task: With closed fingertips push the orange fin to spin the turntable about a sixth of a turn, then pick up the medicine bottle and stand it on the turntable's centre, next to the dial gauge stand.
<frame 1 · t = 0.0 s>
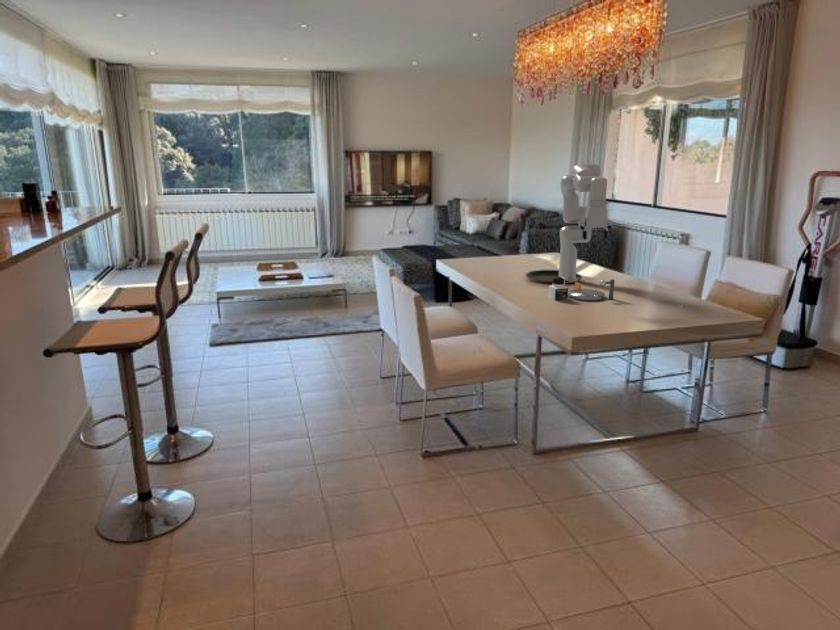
hand: (594, 239, 282), 31 cm above the table, tool pointing down, fingers open, 9 cm apart
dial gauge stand: (610, 301, 289), on the table
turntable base: (585, 298, 293), on the table
turntable: (586, 291, 292), point 4 cm above the table, hinge at 0.0°
medicine bottle: (557, 300, 291), on the table
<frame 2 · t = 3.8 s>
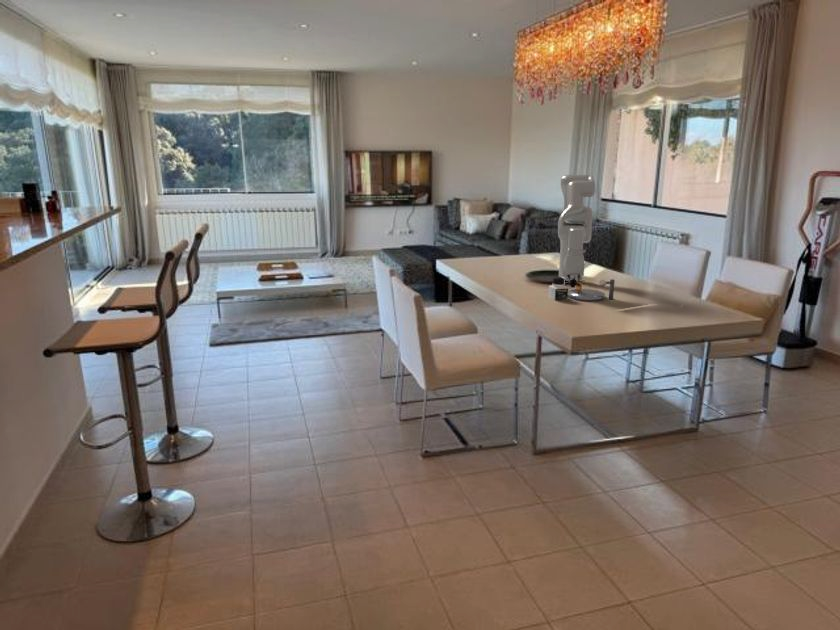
hand: (572, 286, 299), 5 cm above the table, tool pointing down, fingers closed
turntable: (586, 291, 292), point 4 cm above the table, hinge at -5.0°, touching gripper
everything else where it was.
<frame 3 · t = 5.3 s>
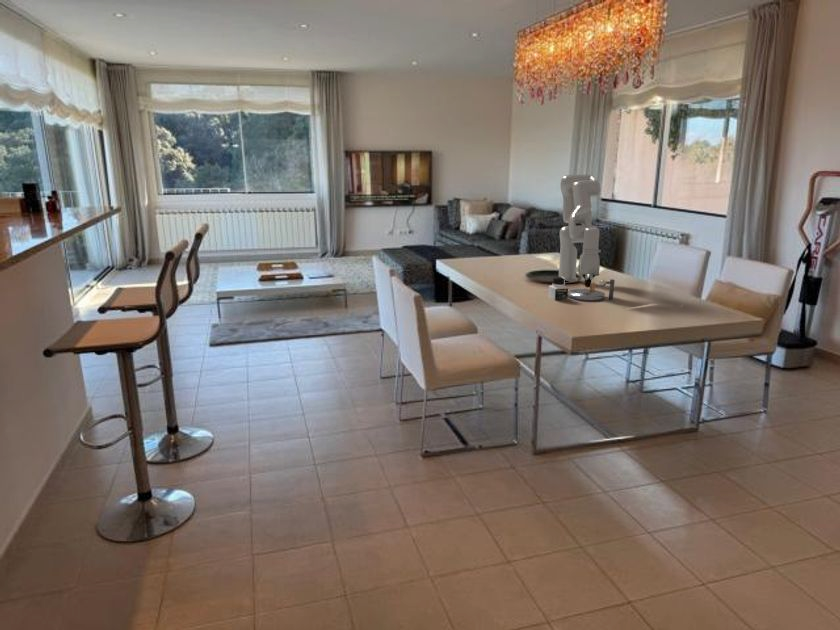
hand: (587, 286, 298), 5 cm above the table, tool pointing down, fingers closed
turntable: (586, 291, 292), point 4 cm above the table, hinge at -66.6°, touching gripper
everything else where it was.
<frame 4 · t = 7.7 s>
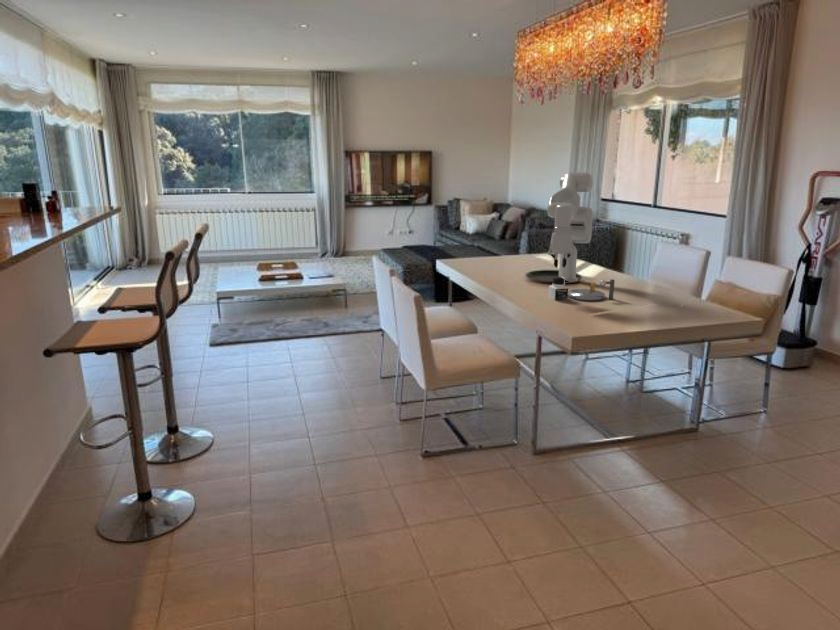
hand: (559, 266, 286), 17 cm above the table, tool pointing down, fingers open, 3 cm apart
turntable: (586, 291, 292), point 4 cm above the table, hinge at -67.8°
everything else where it was.
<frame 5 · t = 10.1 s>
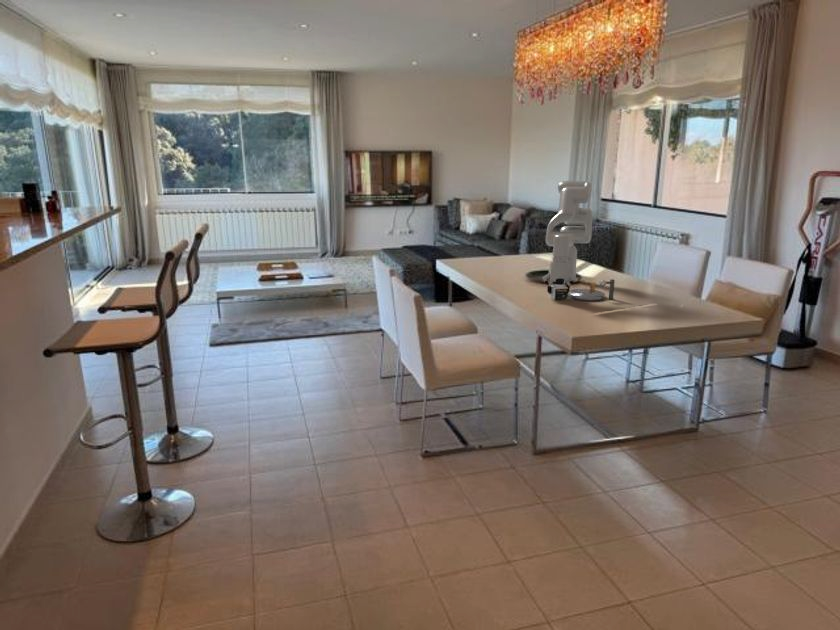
hand: (558, 293, 290), 4 cm above the table, tool pointing down, fingers closed on medicine bottle, 8 cm apart
medicine bottle: (557, 300, 291), on the table, touching gripper
everything else where it was.
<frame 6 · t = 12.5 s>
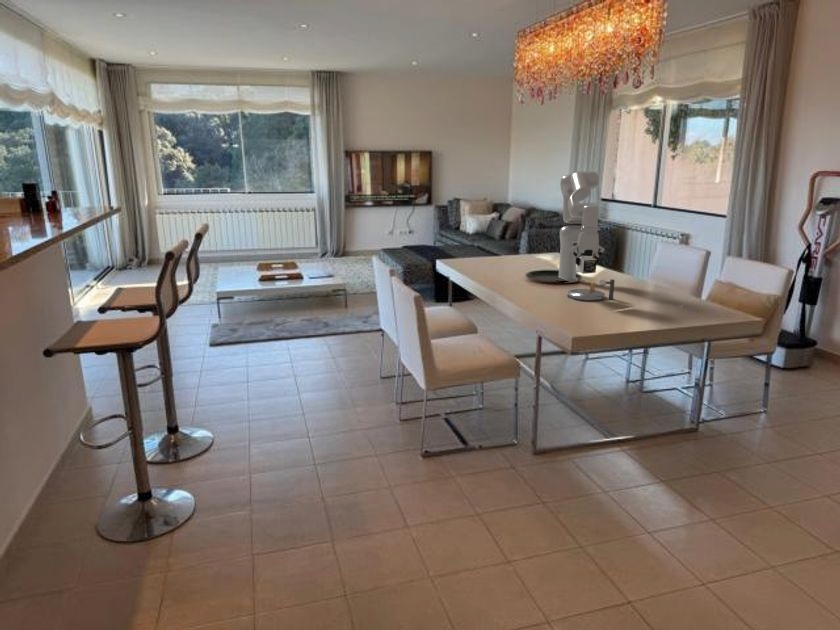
hand: (586, 264, 288), 18 cm above the table, tool pointing down, fingers closed on medicine bottle, 8 cm apart
medicine bottle: (585, 272, 290), point 14 cm above the table, touching gripper
everything else where it was.
when the fingers open (7 cm above the table, at t = 15.2 s): medicine bottle stays where it is, resting on turntable.
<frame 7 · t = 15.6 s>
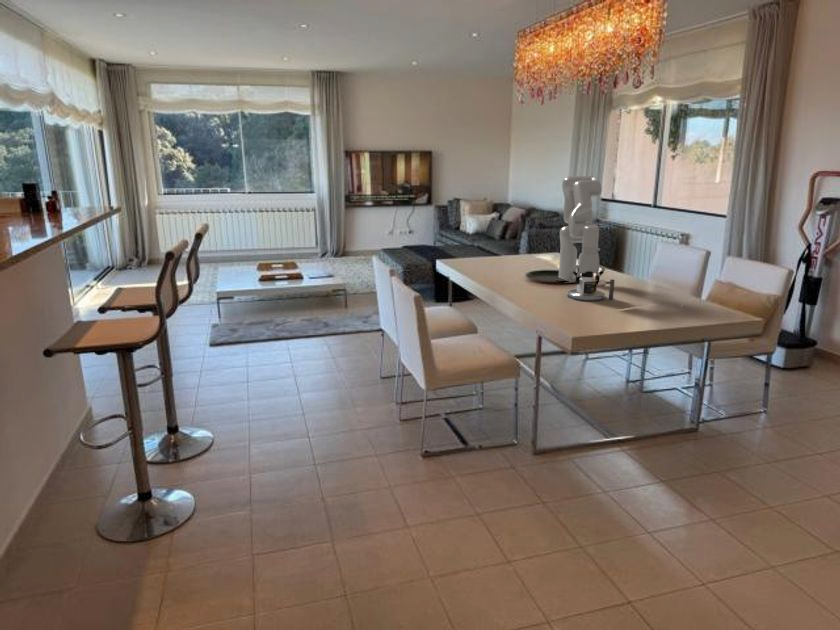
hand: (587, 283, 291), 8 cm above the table, tool pointing down, fingers open, 9 cm apart
turntable: (586, 291, 292), point 4 cm above the table, hinge at -67.8°, touching medicine bottle
medicine bottle: (586, 293, 293), point 3 cm above the table, touching turntable
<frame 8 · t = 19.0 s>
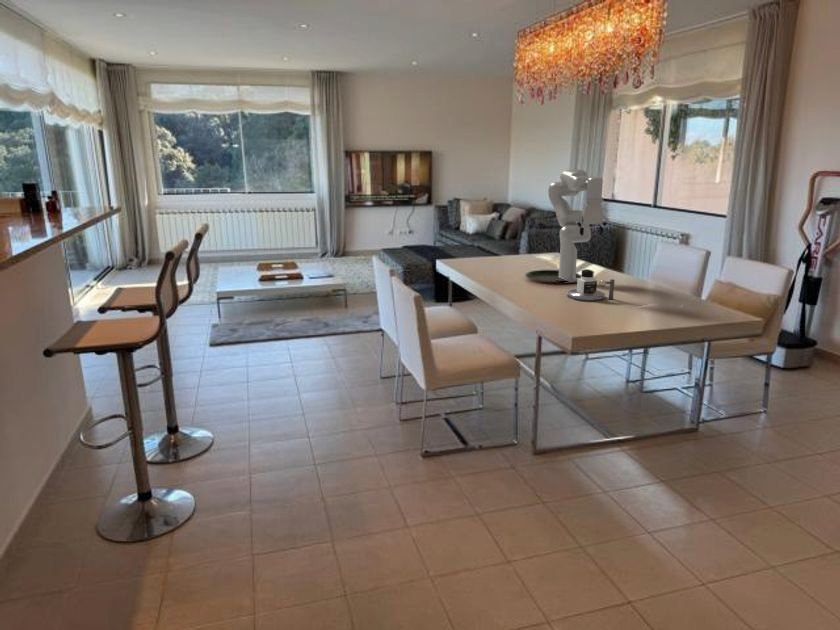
hand: (590, 235, 300), 30 cm above the table, tool pointing down, fingers open, 9 cm apart
nothing on the table moved.
at the end: turntable at -68° (first picture: +0°); medicine bottle 0.2 cm from the turntable (horizontally); medicine bottle tilted 0° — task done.
